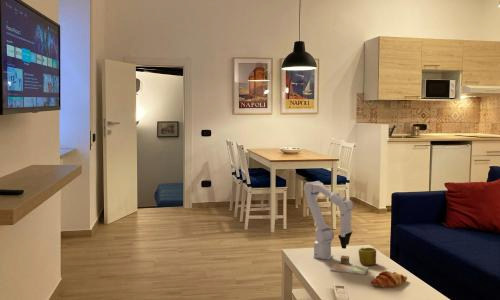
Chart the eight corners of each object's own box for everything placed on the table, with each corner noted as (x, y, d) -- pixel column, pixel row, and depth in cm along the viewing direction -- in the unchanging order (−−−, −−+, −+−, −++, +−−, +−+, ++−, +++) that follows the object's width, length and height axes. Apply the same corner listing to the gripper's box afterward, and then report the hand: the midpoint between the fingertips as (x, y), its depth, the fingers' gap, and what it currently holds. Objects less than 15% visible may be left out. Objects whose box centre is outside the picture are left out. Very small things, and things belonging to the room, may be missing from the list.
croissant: (402, 285, 234) (397, 269, 237) (415, 283, 225) (410, 266, 228) (367, 291, 226) (363, 274, 228) (380, 288, 217) (375, 271, 220)
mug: (381, 263, 250) (375, 245, 252) (363, 269, 251) (357, 251, 252) (377, 260, 263) (371, 243, 264) (360, 266, 263) (354, 248, 264)
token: (340, 264, 255) (340, 257, 254) (341, 262, 258) (342, 255, 258) (347, 265, 253) (347, 258, 253) (349, 263, 257) (349, 256, 257)
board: (330, 270, 245) (330, 269, 245) (334, 264, 255) (334, 262, 255) (365, 275, 238) (365, 273, 238) (368, 268, 249) (368, 267, 248)
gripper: (350, 225, 245) (350, 251, 247) (355, 219, 259) (354, 243, 260) (337, 224, 248) (336, 249, 249) (342, 218, 261) (342, 242, 263)
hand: (345, 246), depth 255 cm, fingers open, 7 cm apart
